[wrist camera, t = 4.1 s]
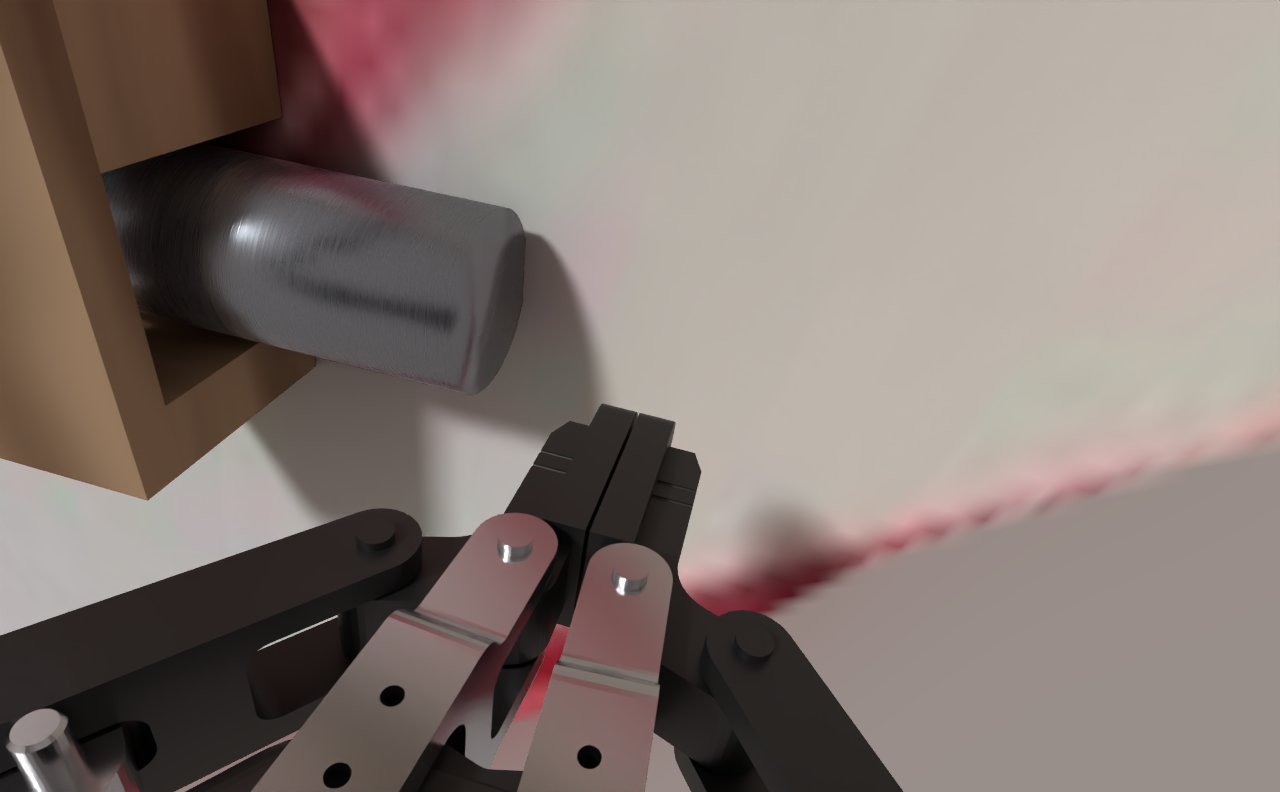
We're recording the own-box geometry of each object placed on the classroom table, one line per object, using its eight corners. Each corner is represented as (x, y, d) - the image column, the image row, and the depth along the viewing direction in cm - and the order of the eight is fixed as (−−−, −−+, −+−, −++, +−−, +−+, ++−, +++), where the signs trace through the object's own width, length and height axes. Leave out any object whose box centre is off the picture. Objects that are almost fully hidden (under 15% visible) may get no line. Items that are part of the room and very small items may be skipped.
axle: (530, 184, 19) (448, 246, 15) (522, 342, 22) (451, 430, 18) (70, 88, 21) (-110, 122, 17) (114, 245, 24) (-33, 306, 20)
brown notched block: (258, -61, 17) (-34, -63, 12) (315, 366, 24) (147, 500, 18) (76, -93, 18) (-287, -110, 12) (181, 332, 25) (-23, 451, 19)
